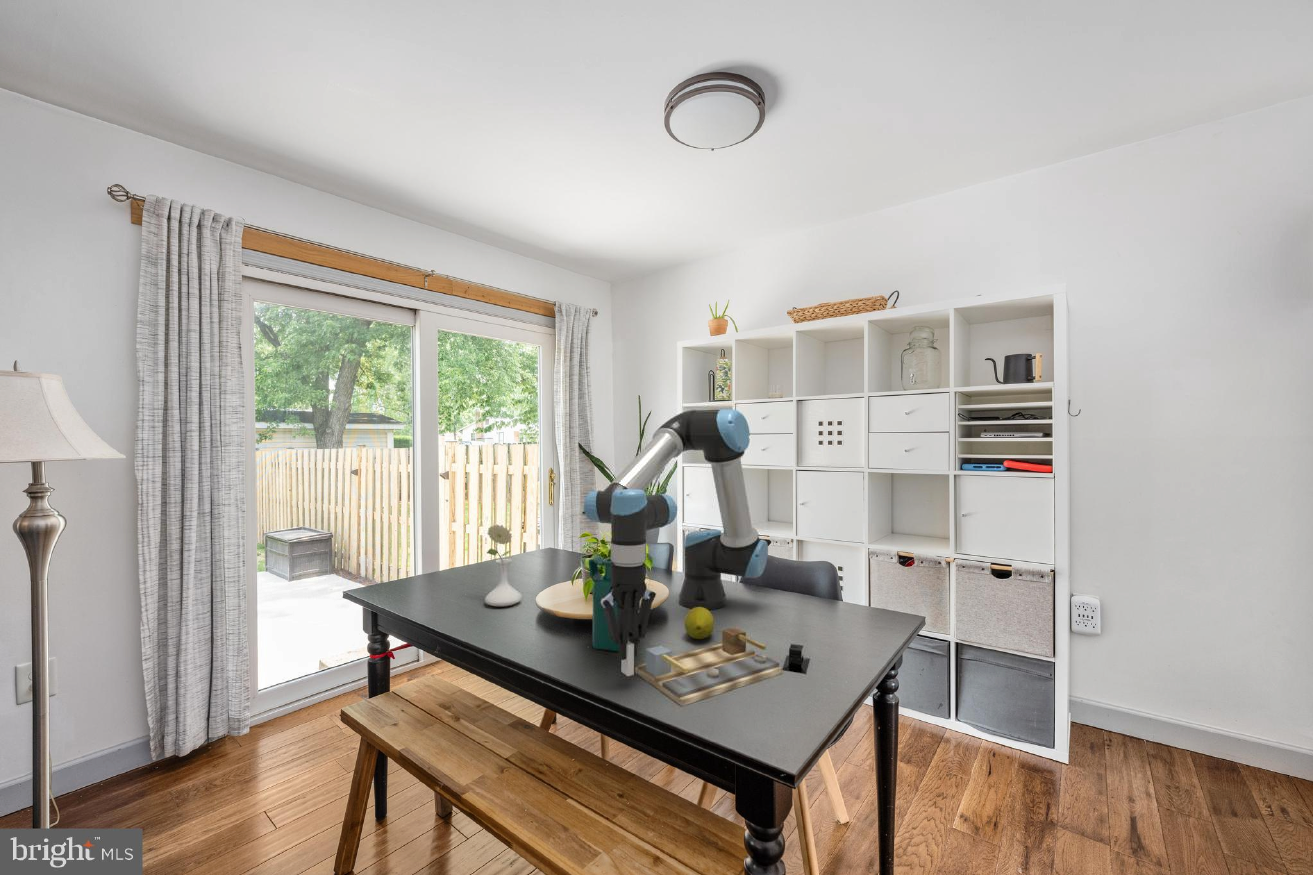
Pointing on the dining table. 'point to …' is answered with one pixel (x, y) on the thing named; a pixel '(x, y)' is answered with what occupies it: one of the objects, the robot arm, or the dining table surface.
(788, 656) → the black stand
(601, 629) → the pitcher
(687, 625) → the lemon
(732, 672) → the gauge board
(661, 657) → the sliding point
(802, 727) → the dining table surface
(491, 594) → the flower in vase
